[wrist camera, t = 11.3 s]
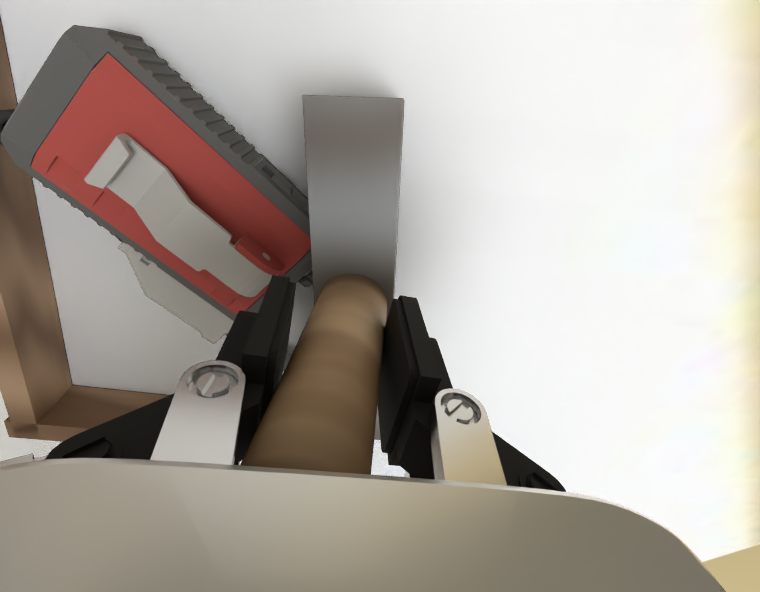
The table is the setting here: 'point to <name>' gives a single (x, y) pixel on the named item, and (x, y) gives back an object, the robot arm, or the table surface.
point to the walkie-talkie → (160, 177)
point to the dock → (38, 319)
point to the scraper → (340, 291)
